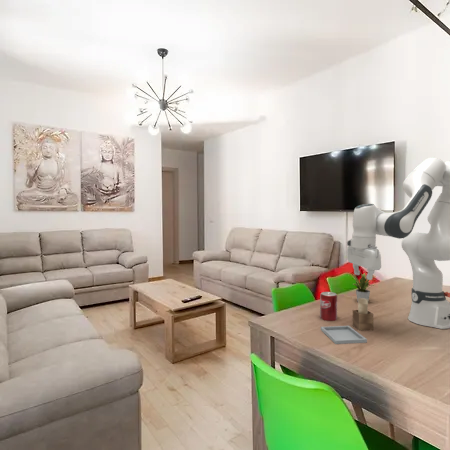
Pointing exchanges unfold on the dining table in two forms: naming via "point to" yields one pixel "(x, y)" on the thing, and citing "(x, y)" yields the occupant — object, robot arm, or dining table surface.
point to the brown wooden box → (362, 321)
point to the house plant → (362, 287)
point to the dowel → (363, 306)
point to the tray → (343, 335)
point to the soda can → (328, 306)
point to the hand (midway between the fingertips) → (362, 277)
